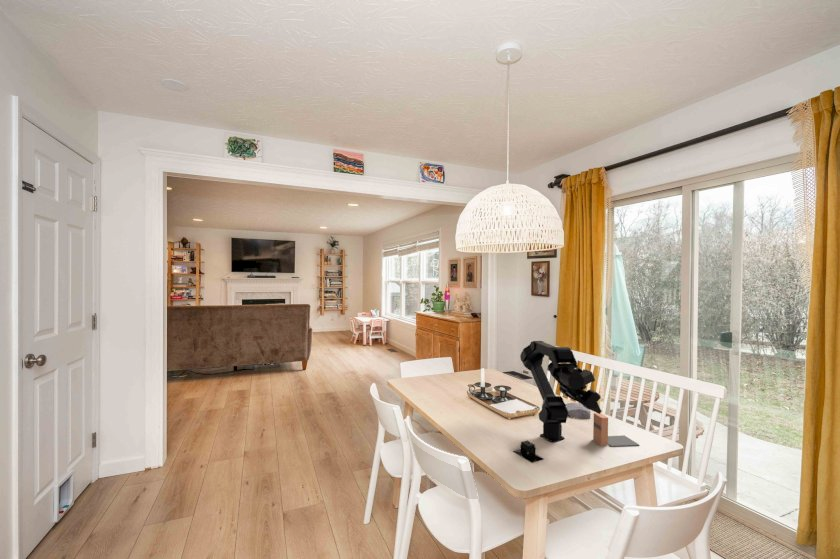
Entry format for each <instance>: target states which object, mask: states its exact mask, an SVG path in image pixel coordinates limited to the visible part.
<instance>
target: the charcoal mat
mask: <svg viewBox="0 0 840 559" xmlns="http://www.w3.org/2000/svg"><path fill="white" fill-rule="evenodd" d="M607 446H609V447H611V448H615V447H618V448H620V447H639V446H640V444H639V443H638V442H636V441H634V440H632V439H631V438H629V437H628V436H626V435H624V434H623V435H608V445H607Z"/></svg>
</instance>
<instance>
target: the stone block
mask: <svg viewBox="0 0 840 559" xmlns="http://www.w3.org/2000/svg"><path fill="white" fill-rule="evenodd" d="M565 404H566V408H567V410H568V415H569V417H571V418H574V417H575V419H587V418H588V420H590V419H591V410H590V409H587V408H585V407H584V406H583V405H582V404H581V403H579V402H568V403H565Z"/></svg>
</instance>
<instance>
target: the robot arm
mask: <svg viewBox="0 0 840 559" xmlns="http://www.w3.org/2000/svg"><path fill="white" fill-rule="evenodd" d="M545 356H546V357H548V360H549V361H550V362H549V363H548V365H547V371H548V372H549V373H550V375H551V377H552V378H553V379H554V380H555V381H556V382H557V384H558V385H559V386H558V387H559V388H558V390H559V392H560V393H561V394H563V395H564V396H565V397H567V398H569V399H571V400H573V401H576V403H580V404H582V405H583V406H584V407H585V408H587V409H590V411H592V412H594V413H599V414H600V413H601V414H602V410H601V407H600V405H599V403H598V402H599V401H600V400H601V397H602V396H601V395H600V394H599V393H598V391H595V390H593V389H588V390H587V391H586V388H587V387H588V386H587V385H588V384H590V383H594V382H595V381H596V379H595V375H594V373H593V372H592V371H590V370H588V369H581V368H580V367H578V362H577V360H576V357H575V355H574V353H573V350H572V349H571V347H569V346H555V345H553V344H550V343H547V342H545V341H542V340H533V341H531V342H530V344H528V345H527V346H526V347H524V348H523V349H522V351H521V352H520V356H519V357H520V361H521V362H522V364H523V366H524V367H525V368H526V369H527V370H529V371H530V372H531V374H532V377H533V380H534V382H535V384H536V387H537V388H538V391H539V394H540V396H541V399H542V404H541V410H540V412H539V413H538V419H539V421H540V422H542V424H543V425H542V426H543V429H542V431H543V432H542V433H540V434H539V436H540V437H542V438H544V439H546V440H547V441H549V442H552V443H556V442H558V441H559V442H560V441H562V440H565V437H564V436H562V431H563V430H562V428H563V427H562V426H563V425H562V424H566V423H567V420H568V410H567V408H566V404H567V403H565V401H564V399H563V397H562V396H561V395H560V396H557V395H556V394H555V392H554V389H553V387H552V385H551V384H550V381H549V379H548V377H547V374H546V372H545V371H544V368H543V366H542V365H543V361H544V360H543V359H544V358H545Z"/></svg>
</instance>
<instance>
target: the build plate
mask: <svg viewBox="0 0 840 559" xmlns="http://www.w3.org/2000/svg"><path fill="white" fill-rule="evenodd" d="M519 446H520V448H519V449H514V450H512V453H515V454H516V455H518V456H520V457H522V458H524V459H525V460H527V461H529V462H530V463H537V462H539V461H543V460H545V458H543V457H542V456H539V455H538V454H537V453H536V449H537V448H536V444H535V443H533V442H531V441H529V440H523V441H520V445H519Z"/></svg>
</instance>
